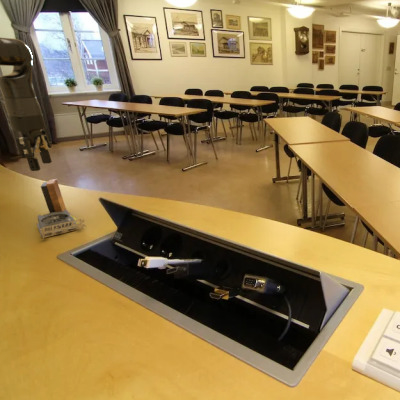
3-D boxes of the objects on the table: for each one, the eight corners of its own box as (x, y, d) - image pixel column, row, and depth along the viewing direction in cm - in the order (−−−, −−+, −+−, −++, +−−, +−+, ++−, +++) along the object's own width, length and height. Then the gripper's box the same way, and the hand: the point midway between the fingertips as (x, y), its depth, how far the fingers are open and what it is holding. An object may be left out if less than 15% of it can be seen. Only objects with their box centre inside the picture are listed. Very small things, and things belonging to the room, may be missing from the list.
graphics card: (84, 219, 109) (38, 229, 101) (87, 229, 110) (42, 240, 102) (75, 205, 120) (33, 213, 112) (77, 214, 121) (36, 223, 113)
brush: (51, 218, 117) (39, 184, 112) (54, 212, 121) (43, 180, 117) (63, 216, 118) (53, 183, 114) (66, 210, 123) (56, 178, 118)
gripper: (21, 110, 99) (37, 161, 105) (-5, 116, 86) (15, 174, 92) (50, 110, 101) (64, 160, 107) (29, 116, 89) (47, 172, 95)
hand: (41, 166), depth 100 cm, fingers open, 8 cm apart
